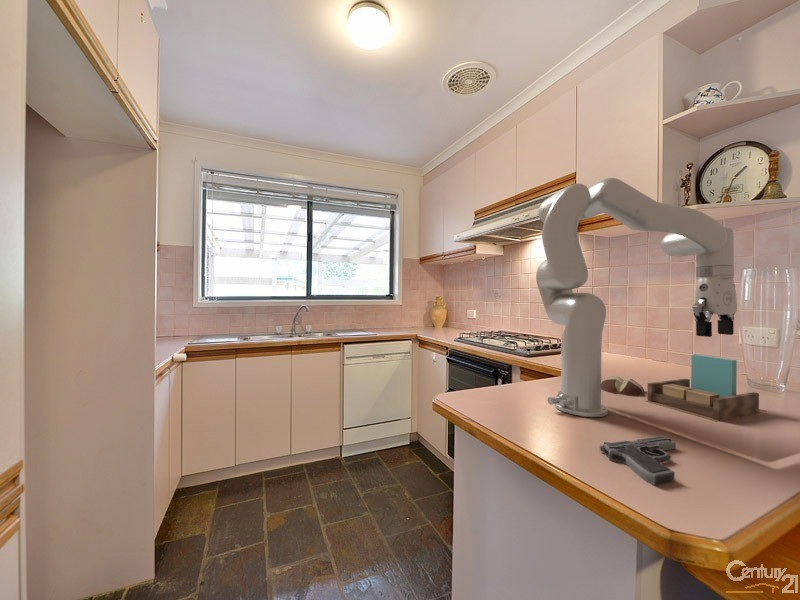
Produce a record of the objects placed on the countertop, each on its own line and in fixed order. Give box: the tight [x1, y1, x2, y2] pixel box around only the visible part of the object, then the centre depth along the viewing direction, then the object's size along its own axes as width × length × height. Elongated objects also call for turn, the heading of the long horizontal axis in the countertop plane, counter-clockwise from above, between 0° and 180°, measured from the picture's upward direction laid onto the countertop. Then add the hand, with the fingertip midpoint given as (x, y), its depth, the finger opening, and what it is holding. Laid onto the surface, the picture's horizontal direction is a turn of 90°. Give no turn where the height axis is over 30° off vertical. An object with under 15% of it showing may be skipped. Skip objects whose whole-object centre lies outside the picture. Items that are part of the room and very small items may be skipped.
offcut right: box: [686, 389, 720, 407], centre depth 83 cm, size 4×5×5 cm
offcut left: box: [663, 384, 693, 400], centre depth 88 cm, size 4×5×5 cm
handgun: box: [599, 435, 677, 487], centre depth 60 cm, size 2×17×12 cm
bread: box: [601, 376, 645, 397], centre depth 102 cm, size 11×11×5 cm
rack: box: [645, 378, 767, 423], centre depth 88 cm, size 22×16×6 cm
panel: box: [690, 354, 738, 398], centre depth 89 cm, size 2×9×13 cm, turn 20°
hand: (714, 335), depth 89 cm, fingers open, 9 cm apart
